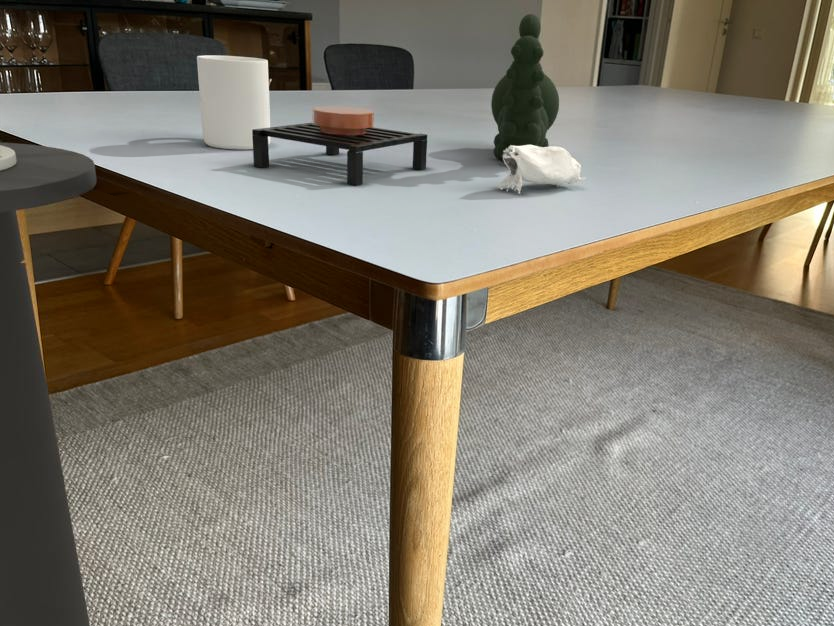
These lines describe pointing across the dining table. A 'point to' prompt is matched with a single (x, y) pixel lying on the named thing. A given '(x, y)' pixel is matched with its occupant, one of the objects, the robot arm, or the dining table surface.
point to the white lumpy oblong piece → (539, 166)
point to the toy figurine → (524, 94)
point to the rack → (340, 145)
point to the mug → (233, 99)
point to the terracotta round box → (343, 120)
